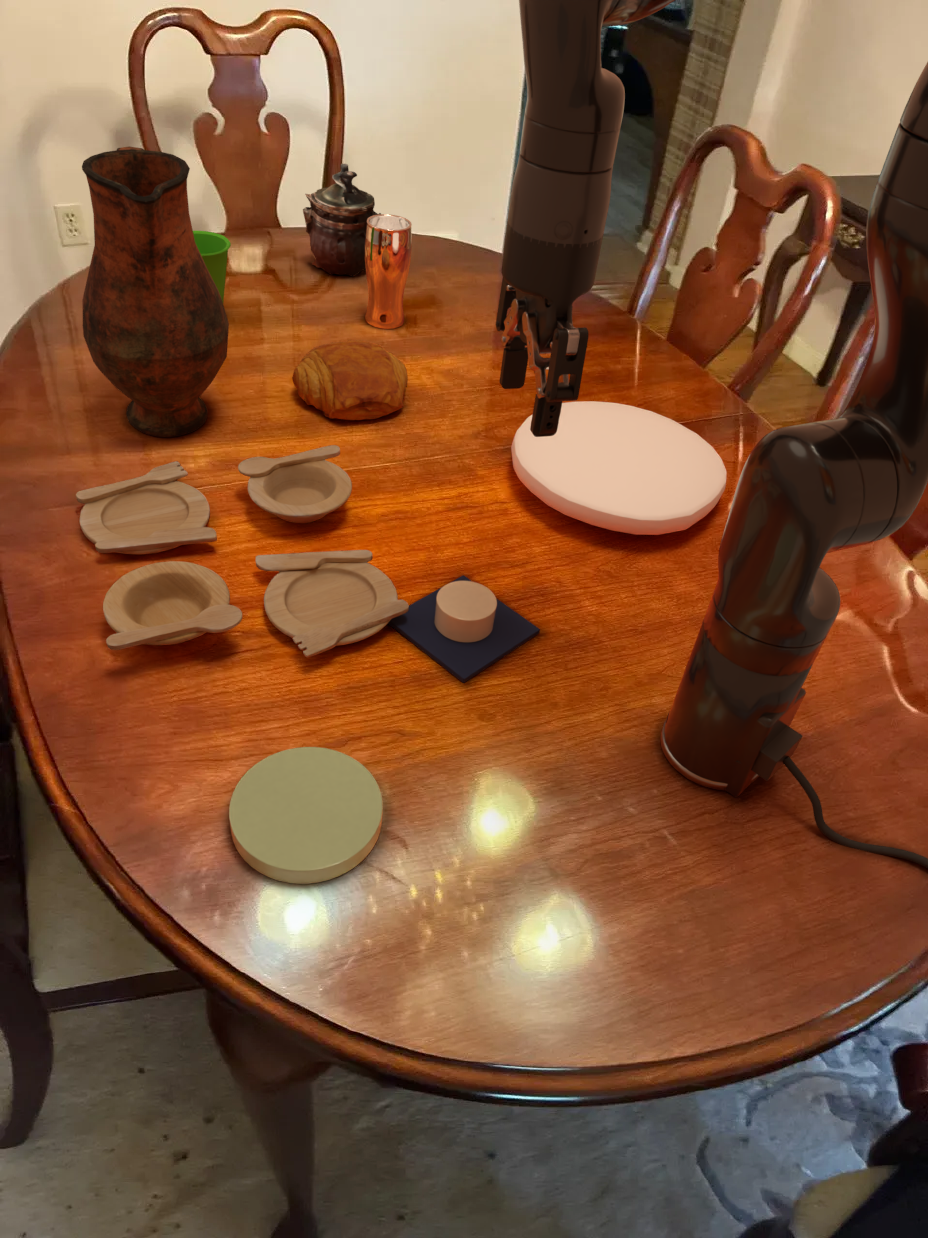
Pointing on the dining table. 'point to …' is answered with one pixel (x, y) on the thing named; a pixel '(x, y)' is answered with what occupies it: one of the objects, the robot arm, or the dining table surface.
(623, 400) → the dining table surface
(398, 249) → the beer glass
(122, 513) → the tableware set
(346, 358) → the croissant
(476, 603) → the beige short cylinder
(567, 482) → the white thick round disc
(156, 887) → the dining table surface
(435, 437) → the dining table surface
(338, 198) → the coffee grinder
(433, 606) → the felt mat
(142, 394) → the pitcher
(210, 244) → the cup
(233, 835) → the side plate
